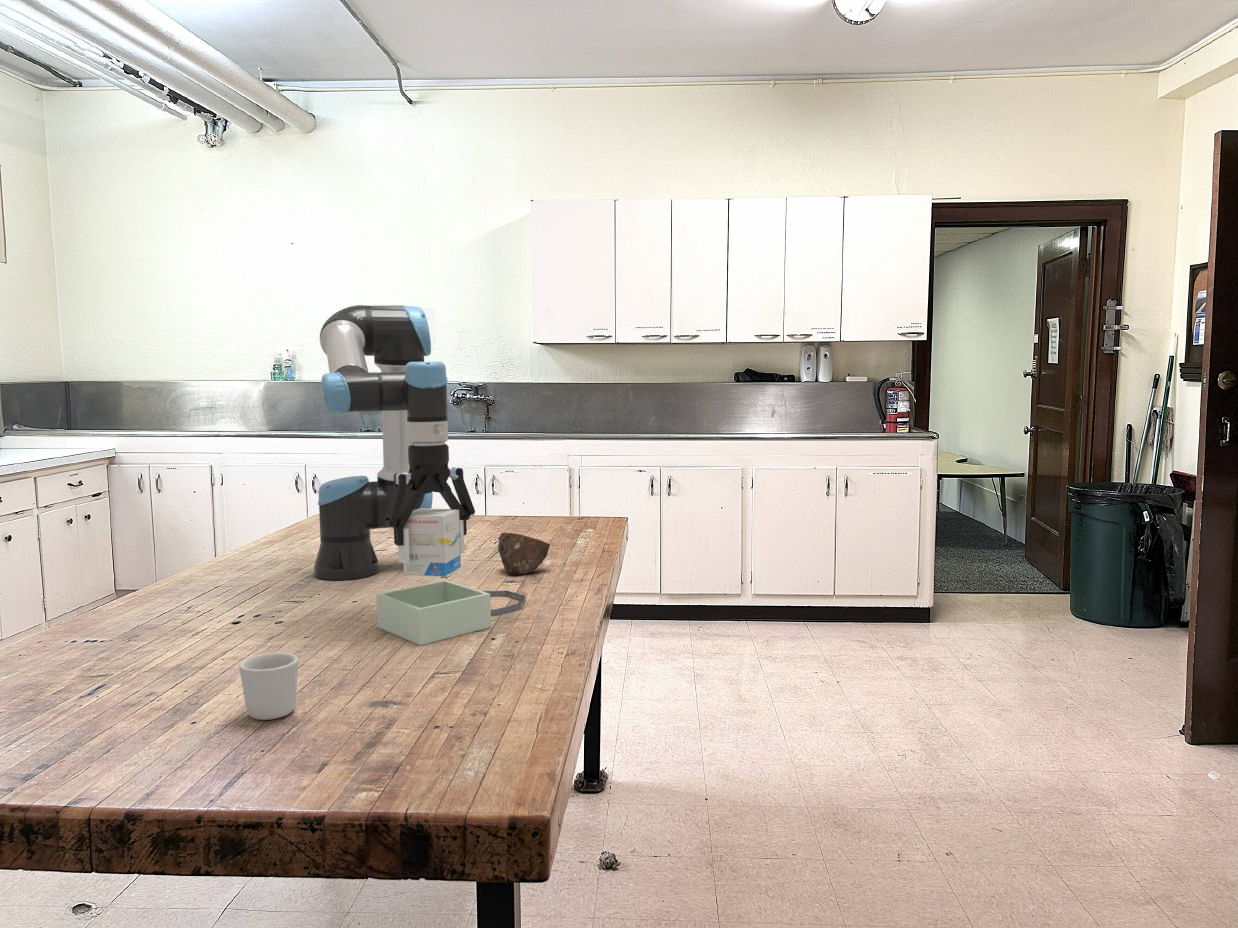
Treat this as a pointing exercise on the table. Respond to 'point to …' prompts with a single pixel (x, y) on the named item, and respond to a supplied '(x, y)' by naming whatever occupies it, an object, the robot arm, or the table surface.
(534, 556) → the rock
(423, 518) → the ink box
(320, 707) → the table surface
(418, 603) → the bin
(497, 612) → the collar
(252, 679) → the cup
